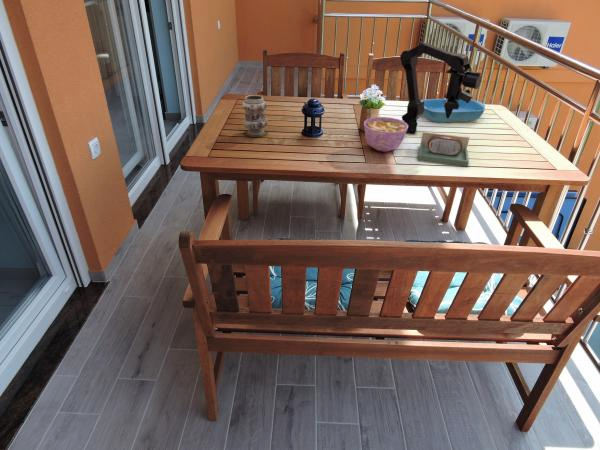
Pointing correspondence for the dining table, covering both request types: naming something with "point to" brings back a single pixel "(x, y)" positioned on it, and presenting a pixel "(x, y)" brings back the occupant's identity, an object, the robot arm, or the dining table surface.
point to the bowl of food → (384, 132)
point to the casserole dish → (463, 113)
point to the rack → (456, 160)
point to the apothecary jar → (254, 115)
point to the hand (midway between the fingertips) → (447, 118)
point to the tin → (444, 145)
